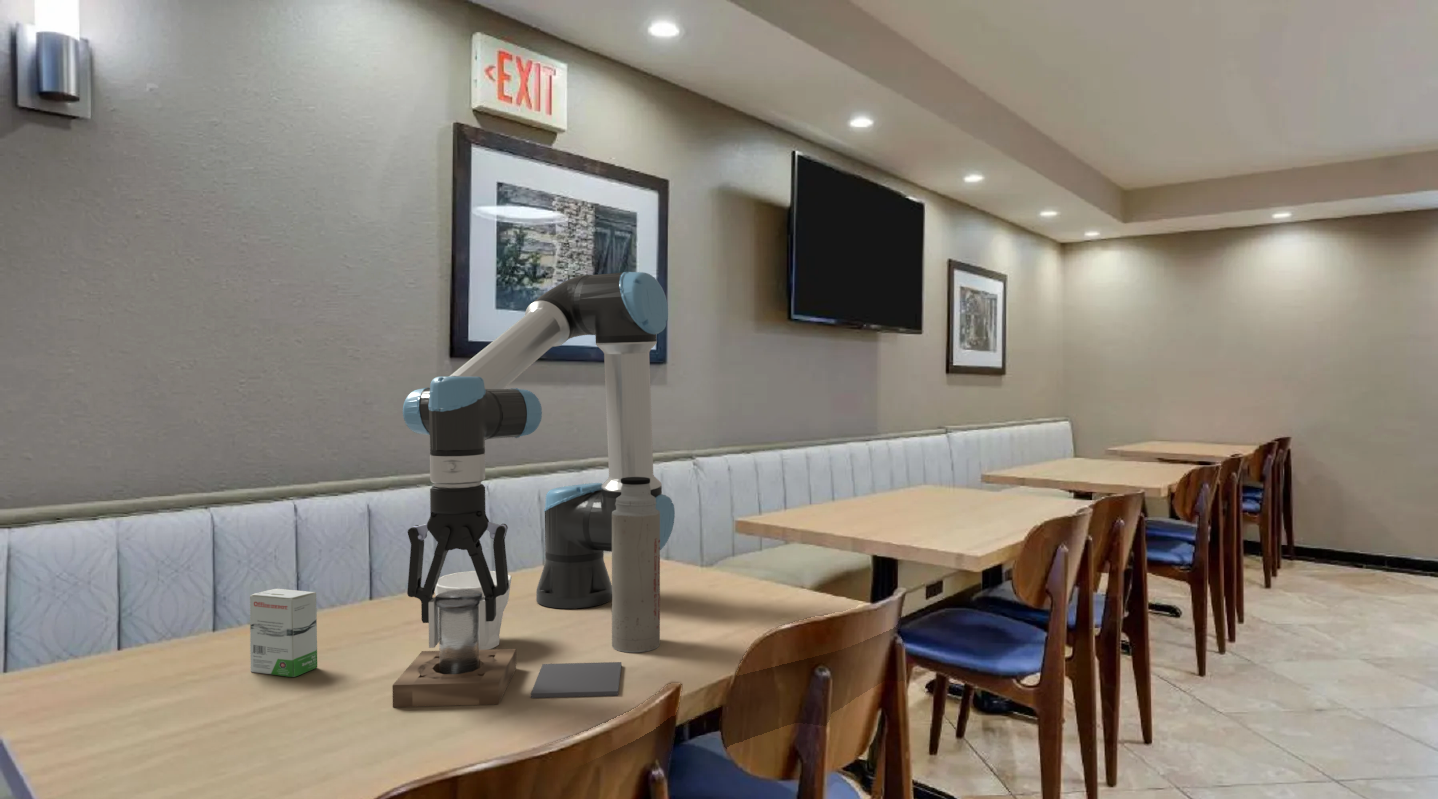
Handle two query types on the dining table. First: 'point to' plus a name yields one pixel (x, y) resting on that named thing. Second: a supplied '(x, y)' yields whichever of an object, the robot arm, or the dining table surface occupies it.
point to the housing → (455, 681)
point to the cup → (472, 583)
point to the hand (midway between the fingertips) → (459, 643)
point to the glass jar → (458, 630)
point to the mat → (577, 680)
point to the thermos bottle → (635, 568)
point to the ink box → (283, 632)
